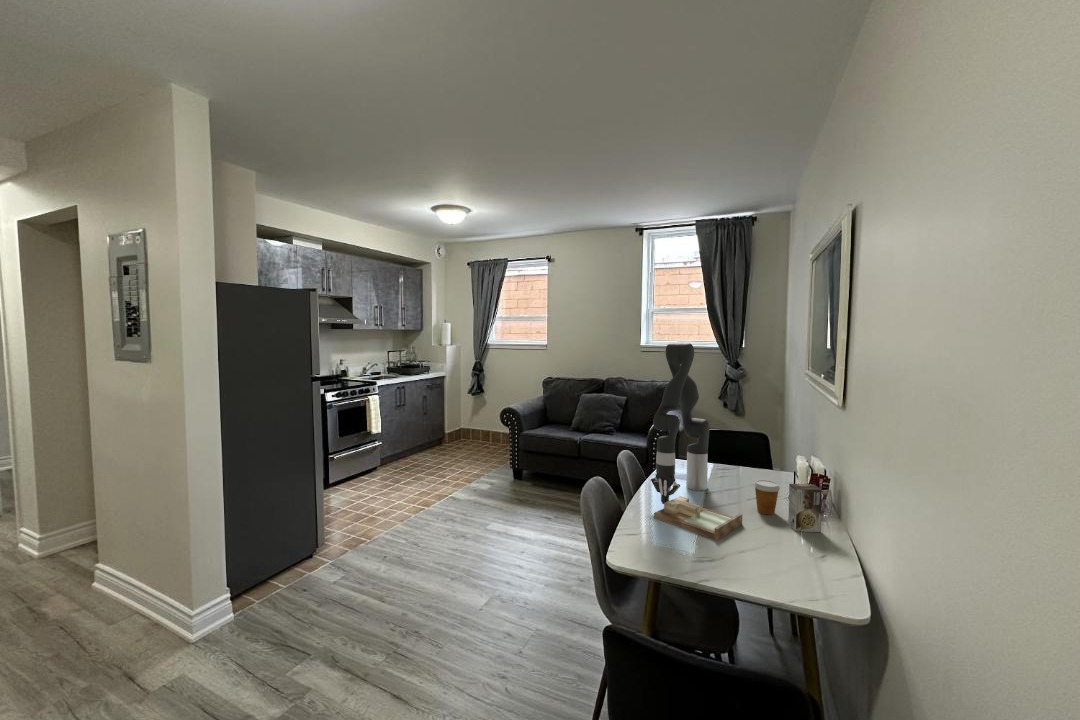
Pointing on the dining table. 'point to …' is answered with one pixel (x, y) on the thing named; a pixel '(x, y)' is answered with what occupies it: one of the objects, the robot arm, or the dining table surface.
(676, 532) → the dining table surface
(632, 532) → the dining table surface
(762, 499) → the disposable coffee cup
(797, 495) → the cracker box
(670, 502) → the t block
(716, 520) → the board
